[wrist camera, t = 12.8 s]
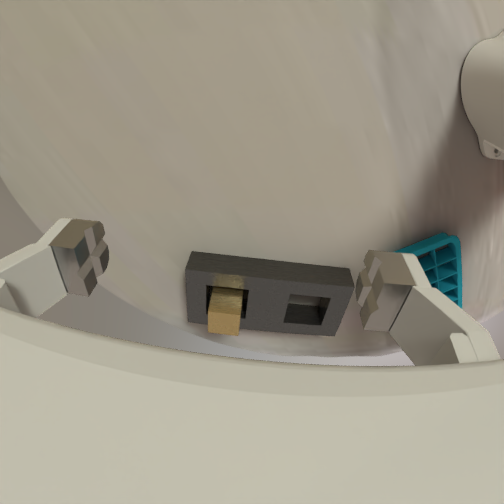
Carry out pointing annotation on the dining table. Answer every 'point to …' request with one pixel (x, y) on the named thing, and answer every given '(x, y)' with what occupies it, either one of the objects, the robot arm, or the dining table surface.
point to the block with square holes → (270, 292)
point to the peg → (225, 310)
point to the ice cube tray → (445, 275)
